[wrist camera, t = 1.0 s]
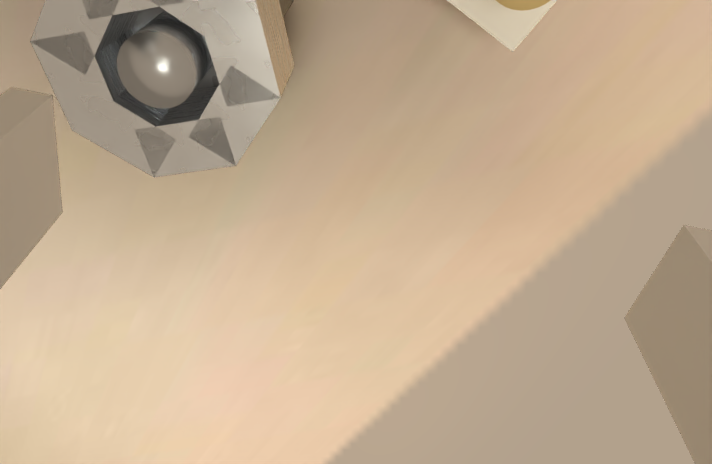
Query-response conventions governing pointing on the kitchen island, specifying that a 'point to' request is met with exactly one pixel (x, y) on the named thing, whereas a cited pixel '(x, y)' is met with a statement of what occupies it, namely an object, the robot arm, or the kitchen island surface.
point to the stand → (166, 59)
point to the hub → (505, 17)
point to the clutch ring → (202, 108)
